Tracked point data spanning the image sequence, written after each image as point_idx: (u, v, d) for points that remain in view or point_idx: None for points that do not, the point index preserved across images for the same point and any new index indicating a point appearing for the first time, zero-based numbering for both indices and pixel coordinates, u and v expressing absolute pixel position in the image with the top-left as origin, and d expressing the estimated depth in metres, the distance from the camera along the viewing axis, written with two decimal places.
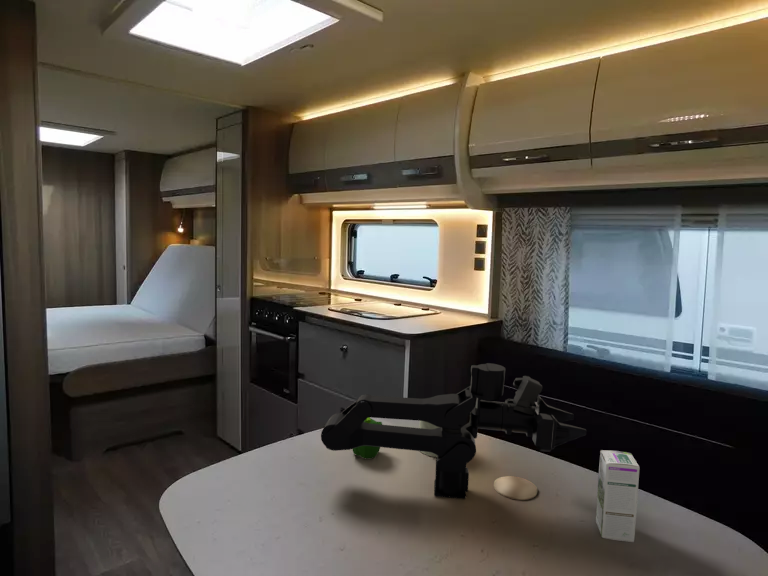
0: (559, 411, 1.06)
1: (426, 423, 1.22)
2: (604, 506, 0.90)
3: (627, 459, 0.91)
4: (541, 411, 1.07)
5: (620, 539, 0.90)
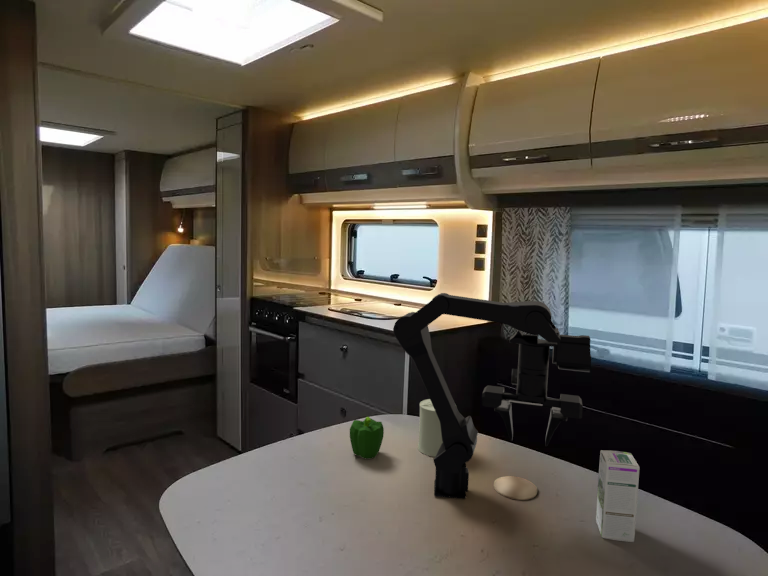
0: None
1: (426, 423, 1.22)
2: (604, 506, 0.90)
3: (627, 459, 0.91)
4: (510, 408, 1.01)
5: (620, 539, 0.90)
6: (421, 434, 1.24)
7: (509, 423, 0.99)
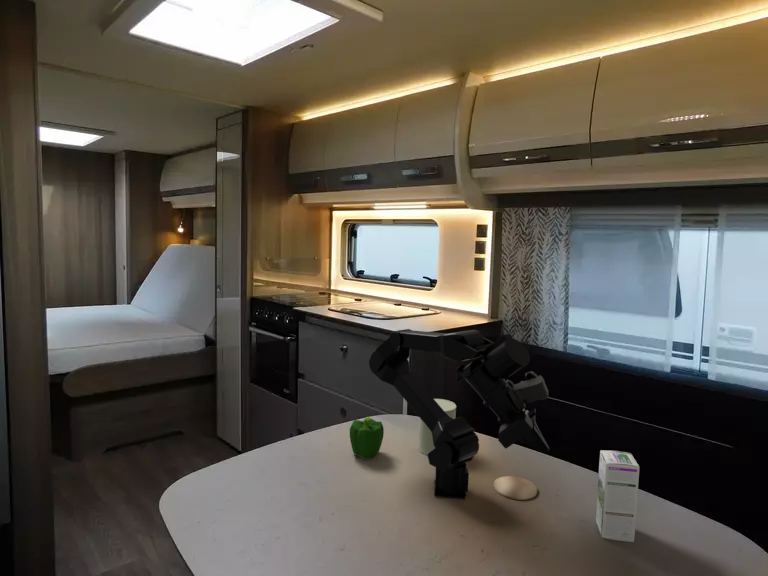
0: None
1: None
2: (604, 506, 0.90)
3: (627, 459, 0.91)
4: None
5: (620, 539, 0.90)
6: (421, 434, 1.24)
7: None
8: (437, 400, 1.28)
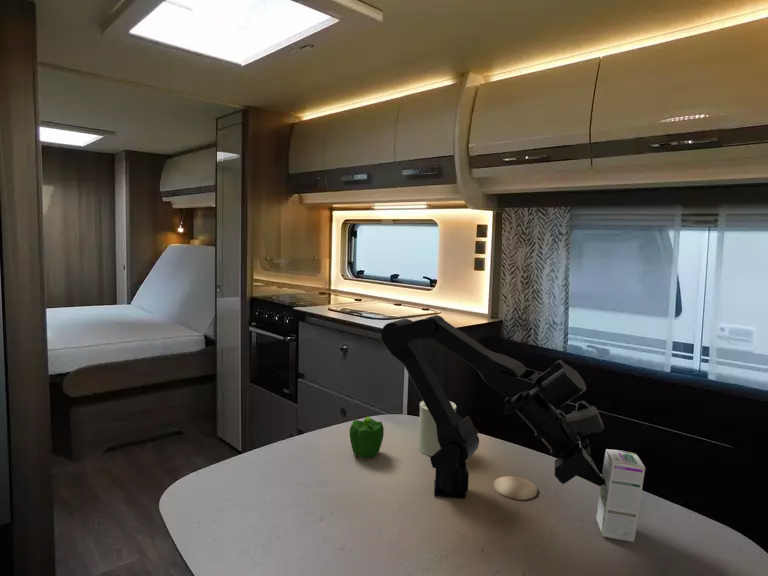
0: (594, 468, 0.93)
1: (426, 423, 1.22)
2: (607, 504, 0.90)
3: (633, 459, 0.90)
4: None
5: (620, 538, 0.90)
6: (421, 434, 1.24)
7: None
8: None
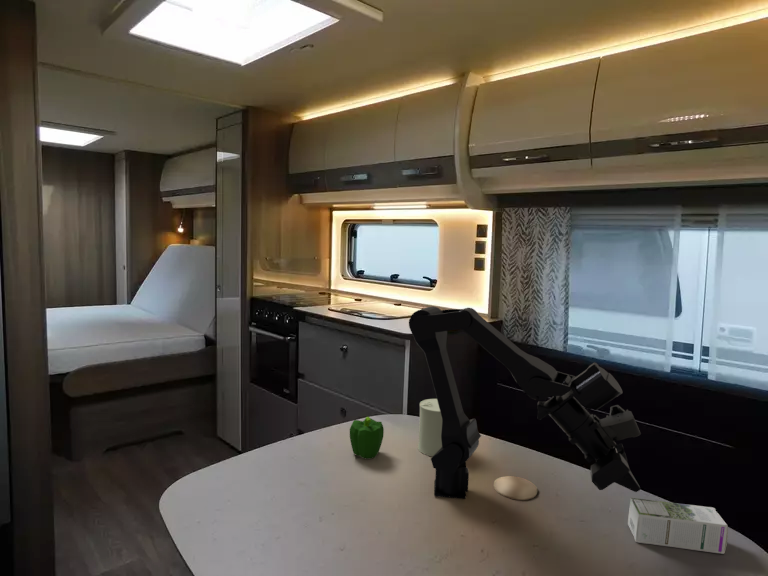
0: None
1: (426, 423, 1.22)
2: (676, 519, 0.88)
3: None
4: None
5: (638, 530, 0.89)
6: (421, 434, 1.24)
7: None
8: None
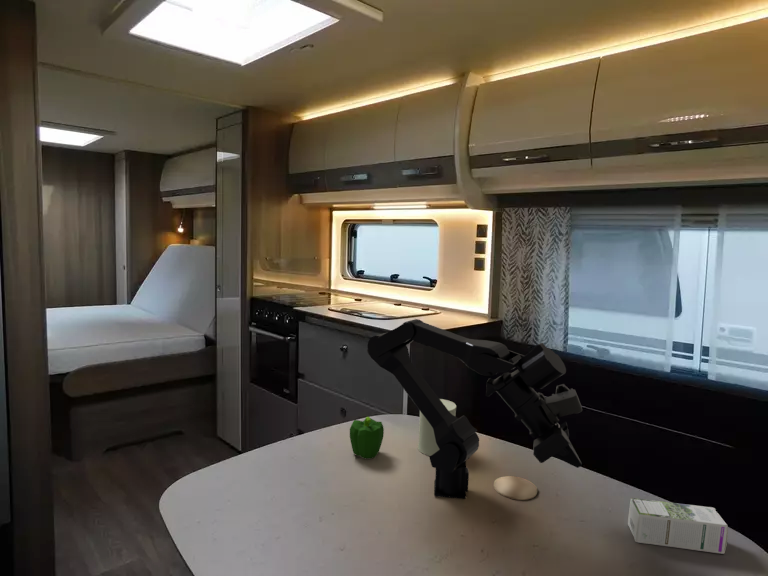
0: (572, 450, 0.94)
1: (426, 423, 1.22)
2: (676, 519, 0.88)
3: None
4: None
5: (638, 530, 0.89)
6: (421, 434, 1.24)
7: None
8: None
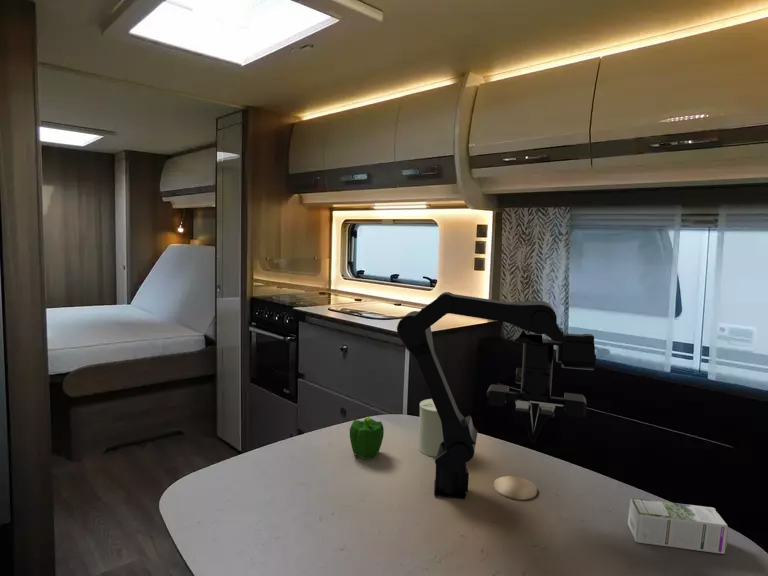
0: None
1: (426, 423, 1.22)
2: (676, 519, 0.88)
3: None
4: (531, 408, 1.01)
5: (638, 530, 0.89)
6: (421, 434, 1.24)
7: (530, 424, 0.99)
8: None
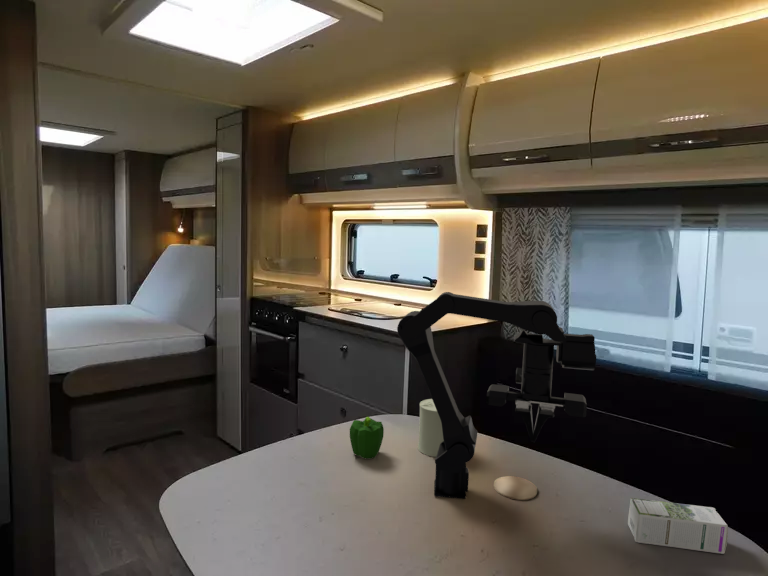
0: None
1: (426, 423, 1.22)
2: (676, 519, 0.88)
3: None
4: (531, 408, 1.01)
5: (638, 530, 0.89)
6: (421, 434, 1.24)
7: (530, 424, 0.99)
8: None
